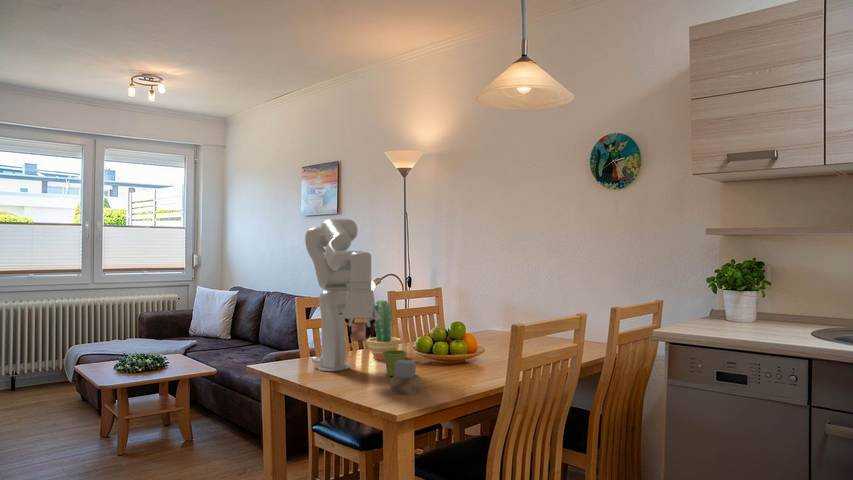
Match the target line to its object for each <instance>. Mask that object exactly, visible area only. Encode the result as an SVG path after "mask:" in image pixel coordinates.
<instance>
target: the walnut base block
mask: <svg viewBox="0 0 853 480" xmlns="http://www.w3.org/2000/svg"><path fill="white" fill-rule="evenodd" d="M419 377H420V376H419V374H415V376H414V377H413V378H412V379H402V378H394V376H392V377H391V378H390V381H389V382H390V383H389V384H390V387H389V391H390V392H389V393H390V394H391V395H409V396H410V395H413V396H414V395H415V394H416V393H417V392H418V390H419V387H420V386H419V381H420V379H419Z"/></svg>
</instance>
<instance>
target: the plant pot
mask: <svg viewBox="0 0 853 480" xmlns="http://www.w3.org/2000/svg"><path fill="white" fill-rule="evenodd" d="M383 354H384V358H385V360H384V362H385V367H386V368H385V370H386V375H387V376H388V377H391V376H392V377H393V376H394V363H395V362H396V361H398V360H406V357H407V354H408V351H407V350H403V349H397V350H389V351H384V352H383Z"/></svg>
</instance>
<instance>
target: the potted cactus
mask: <svg viewBox="0 0 853 480" xmlns="http://www.w3.org/2000/svg"><path fill="white" fill-rule="evenodd" d="M375 310H376V311H377V312H378V314H379V315H380V316H381V318H380V319H378V320H377V321H376V322H375V323H374V324H373V326H374V330H375V335H376V336H375V337H374V336H373V337H369V339H368V340H366V341H365V342H366V344H367V345H368V347H369V351H370V352H371V354H372V355H373V357H372V358H373V360H380V361H383V360H384V361H385V358H384V354H383V352H384V351H389V350H398V347H399V344H401V341H402V340H401V338H399V337H396V336H393V337H392V334H391V333H392V332H391V322H392V319H393V318H392V317H393V309H392V307H391V305H390V304H389V302H388V301H387V300H377V301H376V302H375ZM374 318H375V316H374V317H372V318H371V320H373V319H374Z"/></svg>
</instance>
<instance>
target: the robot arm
mask: <svg viewBox="0 0 853 480" xmlns="http://www.w3.org/2000/svg"><path fill="white" fill-rule="evenodd" d="M357 235H358V227H357V224H356V221H354V220H352V219H348V218H329V219H326V220H324V221H323V222H322V224H321V225H320V226H314V227H311V228H309V229H308V230H307V231H306V232H305V237H304V239H305V247H306V250H307V252H308V255H309V257H310V260H312V263H313V266H314V270H315V276H316V279H317V282H318V286H319V287H320V288H321V289H322V290H323V291H322V292H320V294H319V296H318V303H319V304H318V305H319V310H320V319H321V321H320V323H321V324H320V325H321V344H320V345H321V351H320V352H321V356H319V357H316V356H313V357H312V358H311V362H312V363H313V364H318V365H317V370H319V371H323V372H340V371H346V370H348V369H349V368H350V364H349V363H347V362H346V324H347V326H348V327H349V329H348V330H349V332H348V333H349V336H351V334H352V323H354V322H356V321H355V320H359V319H360V320H365V322H366V323H367V327H366V338H371V336H372V326H374V323H375V322H376V321H377V320H378V319H380V318H381V316H380V315H379V314H378V312H377V311H376V310H375V304H376V302H375V294H374V291H373V289H372V254H371V253H370V252H367V251H362V250H348V249H349V248H350V247H351V245H352V242H354V240H355V239H356V238H357ZM374 316H375V318H374V319H373V320H372V317H374Z"/></svg>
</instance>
